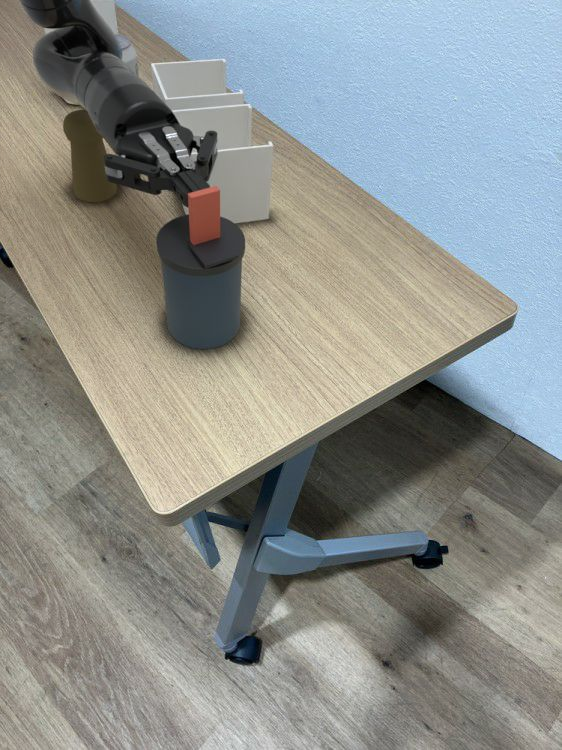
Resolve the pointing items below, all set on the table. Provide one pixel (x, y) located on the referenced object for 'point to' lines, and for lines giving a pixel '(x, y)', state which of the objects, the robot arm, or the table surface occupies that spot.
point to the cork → (87, 159)
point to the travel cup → (200, 287)
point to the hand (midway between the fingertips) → (202, 201)
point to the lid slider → (207, 228)
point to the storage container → (220, 134)
